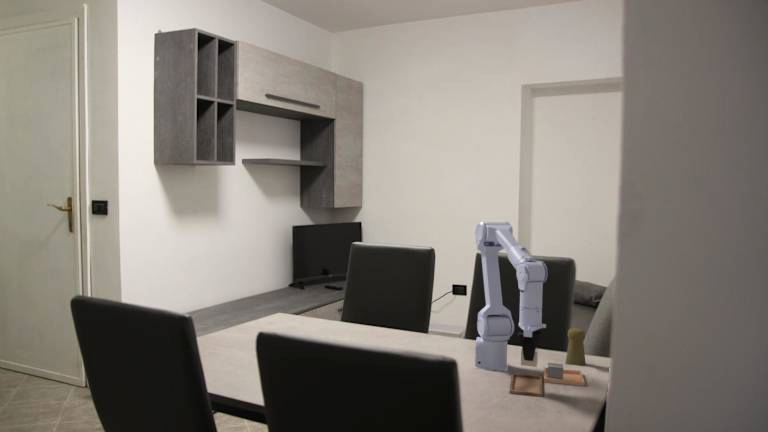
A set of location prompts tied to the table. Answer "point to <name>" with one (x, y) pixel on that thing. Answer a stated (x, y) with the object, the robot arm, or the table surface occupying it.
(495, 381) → the table surface
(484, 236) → the robot arm
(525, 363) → the cream pedestal cube
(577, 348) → the cork
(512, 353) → the table surface
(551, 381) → the terracotta dish
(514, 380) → the walnut tray
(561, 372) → the slate gray cube
